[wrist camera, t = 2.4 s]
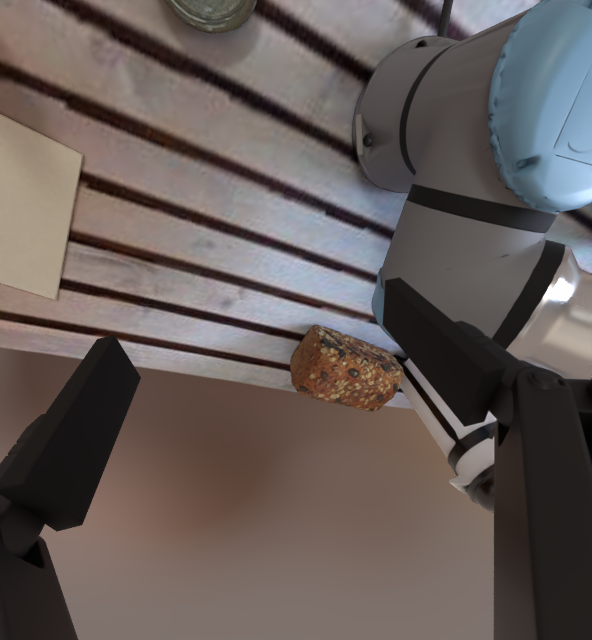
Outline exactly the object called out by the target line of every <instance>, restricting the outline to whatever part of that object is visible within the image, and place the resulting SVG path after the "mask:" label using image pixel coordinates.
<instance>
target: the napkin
mask: <svg viewBox="0 0 592 640" xmlns="http://www.w3.org/2000/svg"><path fill="white" fill-rule="evenodd" d="M83 157H84V155H83V154H81V153H79V152H77V151H74V150H72V149H70V148H68V147H66V146H64V145H62V144H60V143H58V142H56V141H54V140H52V139H50V138H48V137H46V136H44V135H42V134H40V133H38V132H36V131H34V130H32V129H30V128H28V127H26V126H24V125H22V124H20V123H18V122H16V121H14V120H12V119H10V118H8V117H6V116H4V115H2V114H0V283H2V284H5V285H8V286H11V287H15V288H18V289H21V290H24V291H28V292H31V293H34V294H37V295H41V296H44V297H47V298H50V299H54V300H56V299H57V296H58V290H59V285H60V280H61V274H62V269H63V264H64V258H65V253H66V247H67V242H68V237H69V231H70V226H71V221H72V215H73V210H74V205H75V199H76V194H77V189H78V183H79V178H80V173H81V167H82V162H83Z"/></svg>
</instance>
